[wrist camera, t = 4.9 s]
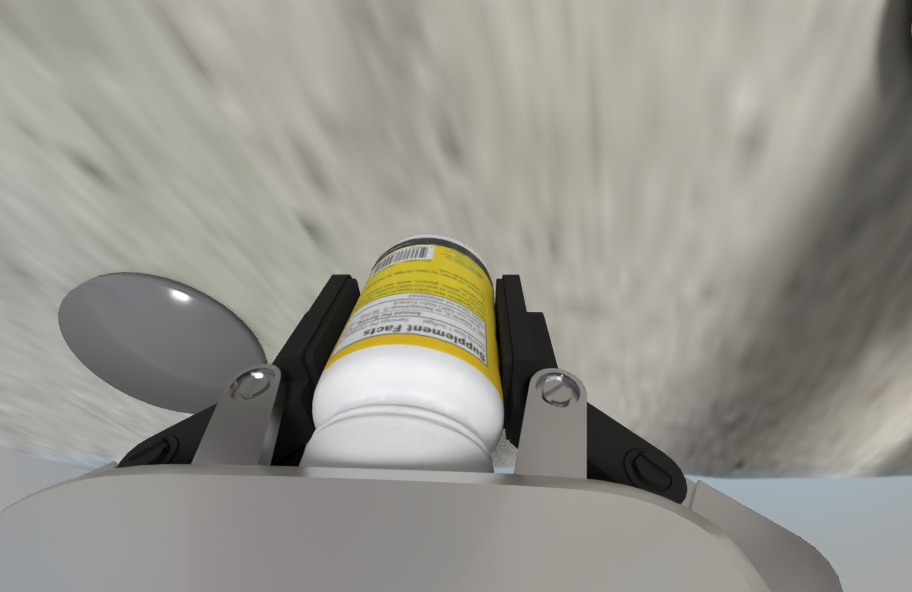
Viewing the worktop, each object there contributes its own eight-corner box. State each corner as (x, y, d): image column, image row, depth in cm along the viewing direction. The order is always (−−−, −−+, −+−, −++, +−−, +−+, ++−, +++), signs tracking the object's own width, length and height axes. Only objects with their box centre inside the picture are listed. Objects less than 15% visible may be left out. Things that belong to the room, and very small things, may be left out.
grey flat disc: (225, 270, 16) (218, 276, 16) (288, 405, 22) (284, 413, 21) (21, 274, 16) (8, 280, 16) (136, 407, 22) (129, 415, 21)
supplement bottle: (460, 346, 15) (446, 589, 8) (358, 306, 14) (244, 546, 7) (517, 263, 12) (568, 516, 6) (398, 206, 11) (280, 433, 5)
